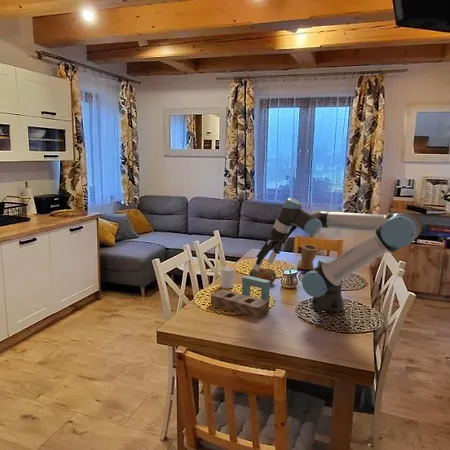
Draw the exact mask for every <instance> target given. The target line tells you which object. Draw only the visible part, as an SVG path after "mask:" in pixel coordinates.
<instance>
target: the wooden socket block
mask: <svg viewBox="0 0 450 450" xmlns="http://www.w3.org/2000/svg"><path fill="white" fill-rule="evenodd" d="M211 304H212V305H215V306H214V307H216V306H218V307H217V308H219V307H221V308H220V309H223V308H224V309H223V310H226V309H227V311H231V312H234V313H236V314H240V315H244V316H246V317H247V316H248V317H250V318H254V319H259V318H260V317H263V316H264V315H266V314H268V313H269V309H270V300H269V301H266V300H262V299H261V298H257V297H254V296H251V295H250V296H246V295H243V294H242V293H238V292H234V291H231V290H226V289H221V290H219V291H217V292H214V293H212V294H211V295H210V305H211ZM212 305H211V306H212Z"/></svg>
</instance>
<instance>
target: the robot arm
mask: <svg viewBox="0 0 450 450" xmlns="http://www.w3.org/2000/svg"><path fill="white" fill-rule="evenodd" d="M302 205H303V204H302V203H301V202H300V201H299V200H297V199H296V198H292V197H288V198H287V199H286V200H285V201H284V203H283V205H282V207H281V209H280V212H279V214H278V215H277V218H276V219H275V221H274V224H273V226H272V228H271V230H270V232H269V233H270V235H271V238H270V239H267V240H265V241H266V242H265V243H264V245H263V246H262V247H261V249H260V250H259V252H258V254H257V255H256V258H257V259H256V261H255V263H254V265H253V267H252V269H255V270H256V271H259V269H260V268H261V266H262V265H263V262H264V259H265V257H266V256H267V255H268V254H269V253H270V252H271V253H270V254H269V257H268V259H267V260H266V262H267V263H268V264H269V265H273V263H274V261H275V260H276V257H277V255H279V254H280V253H281V251H282V248H283V243H284V241H285V240H286V238H287V236H288V234H289V232H290V230H291V229H292V226H293V225H294V226H296V227H297V228H299V229H300V230H302V231H304V232H305V233H306V234H309V235H311V236H317V234H319V232H320V231H321V229H322V228H323V229H338V230H349V231H350V230H351V231H362V232H363V231H364V232H371V233H372V232H374V233H373V234H372V235H370V236H369V237H367V238H365V239H364V240H363V241H361V242H359V243H358V244H357V245H354V246H353V247H351V248H350V249H348V250H346V251H345V252H344V253H342V254H341V255H340V256H338V257H336V258H335V259H326V258H325V259H322V258H321V259H318V261H317V264H316V265H317V266H316V267H314V268H312V269H311V270H308V271H307V272H306V273H305V274H304V275H303V277H302V279H301V286H302V288H303V291H304V292H305V293H306V294H307V295H309V296H310V297H312V299H311V303H310V304H311V305H312V306H311V308H312V307H313V308H312V309H314V308H315V309H317V310H320V311H325V312H338V311H342V310H343V309H345V303H344V299H343V295H342V287H343V279H344V278H346V277H348V276H350V275H351V274H352V273H355V272H356V271H358V270H360V269H361V268H363V267H364V266H366V265H367V264H369V263H371V262H373V261H374V260H376V259H377V258H379V257H381V256H382V255H385V254H386V253H391V254H394V253H395V252H397V251H399V250H400V249H402V248H404V247H407V246H409V245H410V244H411V243H412V242H414V240H416V239H417V238H418V237H419V236H420V235H421V233H422V231H423V224H422V221H421V219H420V218H419V217H418V216H417V215H416V214H414V213H412V212H388V213H387V214H374V213H355V212H342V211H341V212H339V211H338V212H337V211H326V210H317V211H313V212H311V213H308V212H307V211H304V210H303V209H302ZM271 250H272V251H271ZM315 309H314V310H315ZM317 310H316V311H317ZM320 311H319V312H320ZM343 311H344V310H343ZM343 311H342V312H343ZM325 312H324V313H325Z"/></svg>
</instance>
